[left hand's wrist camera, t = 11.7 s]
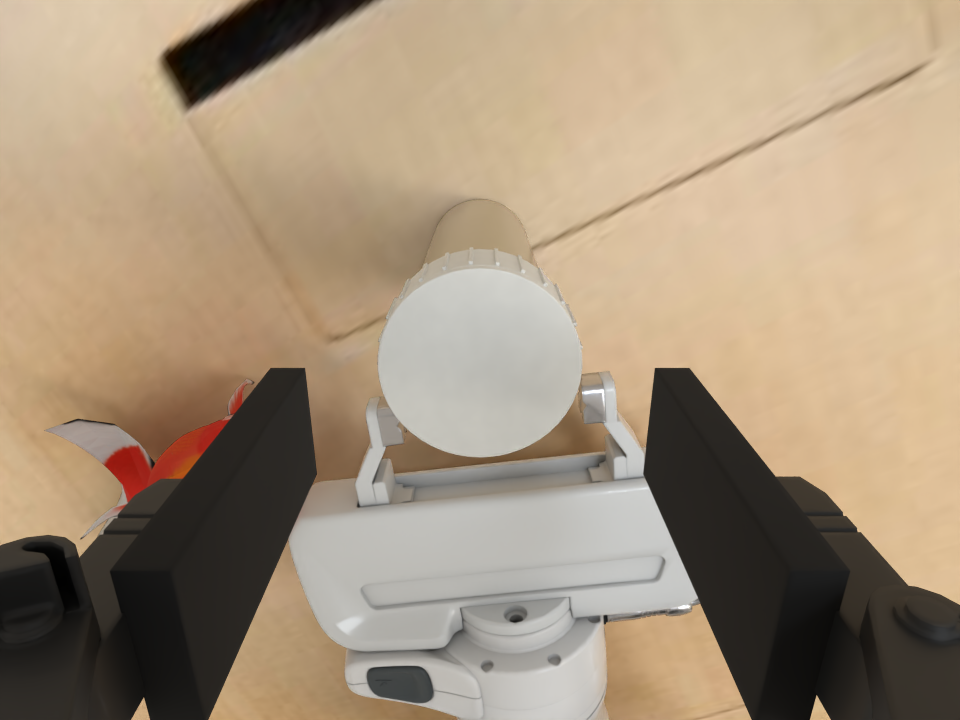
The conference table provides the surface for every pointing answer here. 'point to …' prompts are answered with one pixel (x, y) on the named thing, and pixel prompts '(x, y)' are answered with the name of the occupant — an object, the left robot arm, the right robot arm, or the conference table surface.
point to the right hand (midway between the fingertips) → (488, 389)
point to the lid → (479, 354)
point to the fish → (141, 453)
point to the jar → (480, 231)
